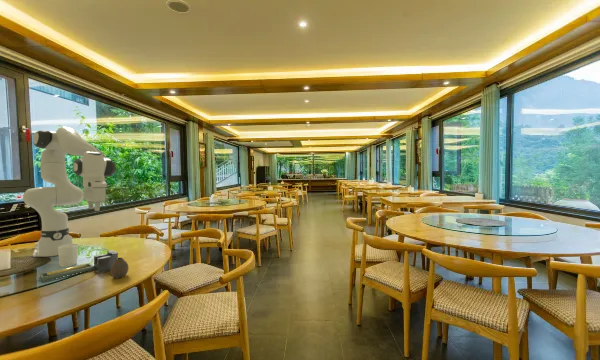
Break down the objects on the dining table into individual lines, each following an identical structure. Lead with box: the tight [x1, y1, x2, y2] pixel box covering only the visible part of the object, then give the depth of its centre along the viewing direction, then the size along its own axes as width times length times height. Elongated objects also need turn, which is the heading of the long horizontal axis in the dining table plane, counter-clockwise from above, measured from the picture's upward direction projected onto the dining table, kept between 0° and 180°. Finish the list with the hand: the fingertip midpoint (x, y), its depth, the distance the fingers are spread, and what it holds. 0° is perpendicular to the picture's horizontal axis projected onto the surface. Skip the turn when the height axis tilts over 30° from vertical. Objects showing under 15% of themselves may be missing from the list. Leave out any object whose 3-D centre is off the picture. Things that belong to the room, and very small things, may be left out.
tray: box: [38, 262, 95, 283], centre depth 124 cm, size 7×18×2 cm, turn 143°
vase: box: [110, 257, 129, 279], centre depth 122 cm, size 7×7×9 cm
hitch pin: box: [47, 263, 87, 276], centre depth 124 cm, size 14×2×2 cm, turn 143°
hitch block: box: [93, 249, 119, 274], centre depth 131 cm, size 7×8×8 cm
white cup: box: [57, 243, 79, 268], centre depth 136 cm, size 8×8×10 cm
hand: (93, 209), depth 135 cm, fingers open, 8 cm apart
